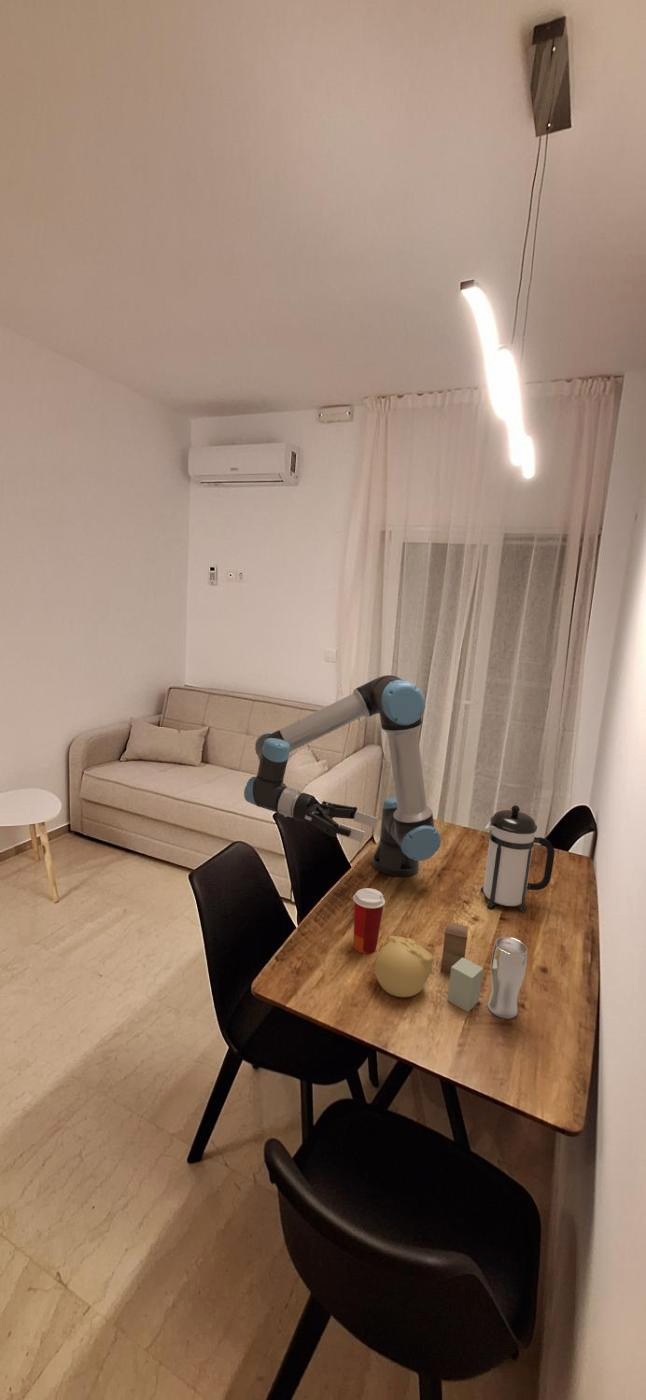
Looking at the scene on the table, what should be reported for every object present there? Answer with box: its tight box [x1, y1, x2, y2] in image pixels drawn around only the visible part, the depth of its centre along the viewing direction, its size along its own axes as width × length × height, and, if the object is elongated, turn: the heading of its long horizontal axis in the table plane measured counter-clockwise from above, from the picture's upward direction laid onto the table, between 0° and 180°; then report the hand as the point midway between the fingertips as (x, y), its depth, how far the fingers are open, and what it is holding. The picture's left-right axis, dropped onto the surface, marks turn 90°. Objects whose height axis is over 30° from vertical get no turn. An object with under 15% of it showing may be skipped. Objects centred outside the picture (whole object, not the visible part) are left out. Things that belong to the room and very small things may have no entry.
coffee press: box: [480, 805, 555, 914], centre depth 165 cm, size 17×16×30 cm
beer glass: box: [487, 936, 528, 1020], centre depth 120 cm, size 7×7×15 cm
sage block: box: [446, 957, 484, 1013], centre depth 123 cm, size 5×5×8 cm
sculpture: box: [374, 935, 435, 998], centre depth 125 cm, size 12×12×11 cm
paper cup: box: [352, 887, 386, 955], centre depth 139 cm, size 8×8×14 cm
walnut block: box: [440, 921, 469, 975], centre depth 133 cm, size 5×5×10 cm
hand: (370, 829), depth 148 cm, fingers open, 13 cm apart
